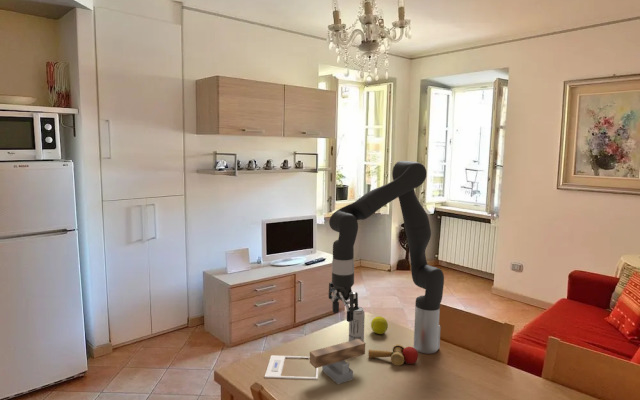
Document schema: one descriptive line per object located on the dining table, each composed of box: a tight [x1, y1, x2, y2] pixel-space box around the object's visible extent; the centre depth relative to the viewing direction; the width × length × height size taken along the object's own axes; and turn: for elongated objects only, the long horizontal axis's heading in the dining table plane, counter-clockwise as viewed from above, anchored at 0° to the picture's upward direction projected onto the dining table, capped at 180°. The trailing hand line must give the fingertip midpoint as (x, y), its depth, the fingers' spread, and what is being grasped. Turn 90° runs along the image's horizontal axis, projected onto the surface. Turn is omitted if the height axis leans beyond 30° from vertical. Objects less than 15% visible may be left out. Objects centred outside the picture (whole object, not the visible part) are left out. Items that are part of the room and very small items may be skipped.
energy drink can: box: [348, 306, 366, 343], centre depth 169 cm, size 6×6×15 cm
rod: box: [309, 339, 366, 369], centre depth 146 cm, size 20×4×4 cm, turn 120°
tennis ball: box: [370, 316, 389, 335], centre depth 180 cm, size 7×7×7 cm
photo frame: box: [264, 354, 320, 381], centre depth 152 cm, size 15×1×18 cm
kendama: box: [368, 344, 419, 366], centre depth 157 cm, size 8×6×18 cm
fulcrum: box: [321, 360, 354, 385], centre depth 147 cm, size 6×10×6 cm, turn 31°
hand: (342, 316), depth 146 cm, fingers open, 8 cm apart
